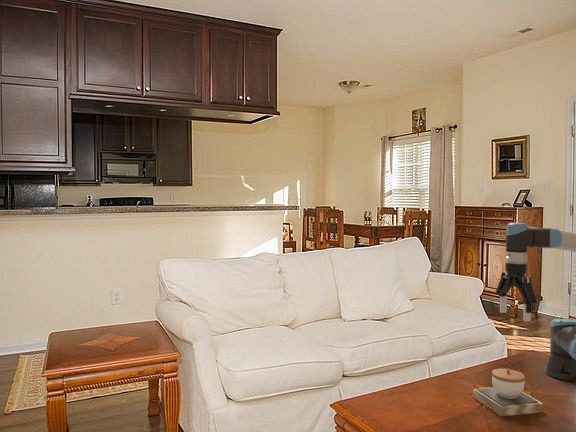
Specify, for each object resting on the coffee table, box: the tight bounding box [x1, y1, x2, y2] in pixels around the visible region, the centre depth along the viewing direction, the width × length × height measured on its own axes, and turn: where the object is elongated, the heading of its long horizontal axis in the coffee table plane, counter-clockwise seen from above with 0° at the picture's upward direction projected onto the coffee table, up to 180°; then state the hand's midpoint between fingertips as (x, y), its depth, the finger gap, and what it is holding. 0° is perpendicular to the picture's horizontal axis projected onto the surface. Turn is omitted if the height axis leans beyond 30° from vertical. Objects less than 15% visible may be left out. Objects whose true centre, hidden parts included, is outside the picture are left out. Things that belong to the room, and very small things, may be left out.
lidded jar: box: [491, 368, 526, 399], centre depth 170 cm, size 11×11×9 cm
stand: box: [472, 386, 544, 417], centre depth 171 cm, size 16×16×3 cm
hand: (514, 316), depth 189 cm, fingers open, 13 cm apart
